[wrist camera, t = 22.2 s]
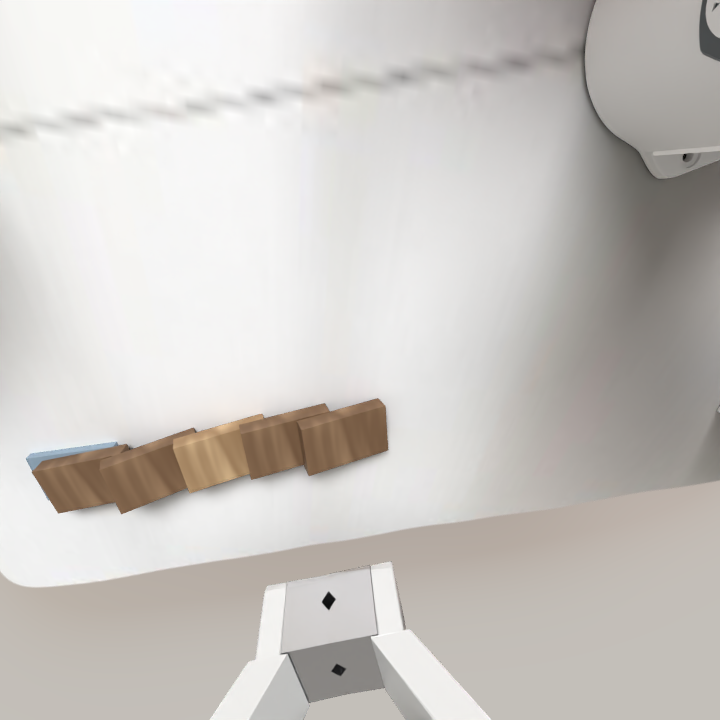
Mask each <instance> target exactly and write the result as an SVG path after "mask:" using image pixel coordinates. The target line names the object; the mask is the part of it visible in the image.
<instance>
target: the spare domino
mask: <svg viewBox="0 0 720 720" xmlns="http://www.w3.org/2000/svg"><path fill="white" fill-rule="evenodd" d="M260 419H264V418H263V415H262V414H259V415H255V416H252V417H248V418H245V419H241V420H238V421H234V422H231V423H228V424H224V425H221V426H217V427H214V428H210V429H207V430H203V431H200V432H197V433H193V434H190V435H186V436H183V437H179V438H176V439H173V450H174V453H175V456H176V458H177V461H178V464H179V466H180V469H181V472H182V474H183V477H184V480H185V482H186V485H187V488H188V490H189V493H192V492H195V491H198V490H201V489H205V488H208V487H211V486H214V485H217V484H220V483H223V482H226V481H229V480H232V479H235V478H238V477H241V476H244V475H247V474H250V472H249V468H248V463H247V459H246V455H245V450H244V446H243V442H242V437H241V433H240V428H239V425H240V424H244V423H248V422H252V421H256V420H260Z"/></svg>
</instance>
